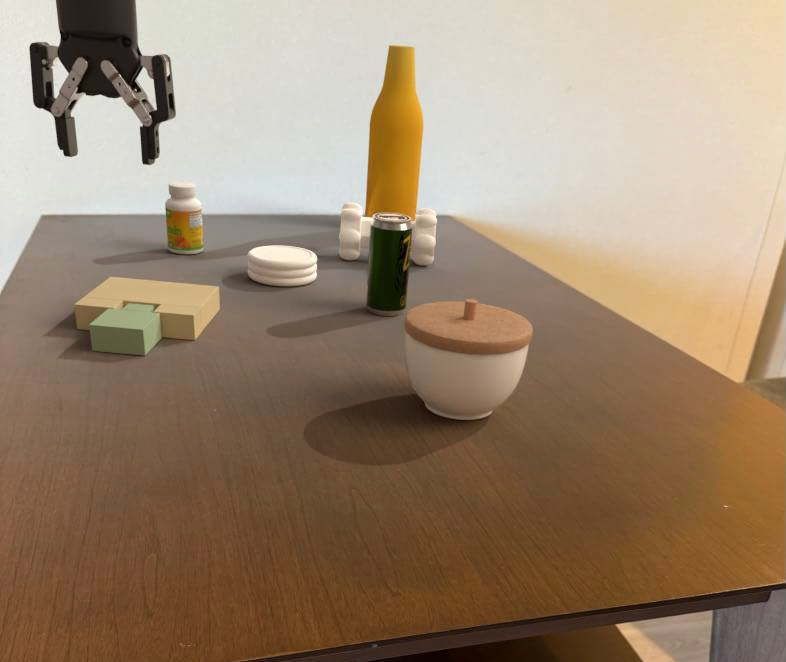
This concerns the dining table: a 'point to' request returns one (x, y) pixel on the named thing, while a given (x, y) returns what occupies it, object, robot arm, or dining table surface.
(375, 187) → the beer bottle
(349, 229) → the dog bone
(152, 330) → the pad
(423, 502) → the dining table surface
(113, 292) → the notch pad
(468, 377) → the lidded bowl
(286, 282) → the coaster
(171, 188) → the supplement bottle
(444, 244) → the dining table surface
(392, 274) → the beer can
